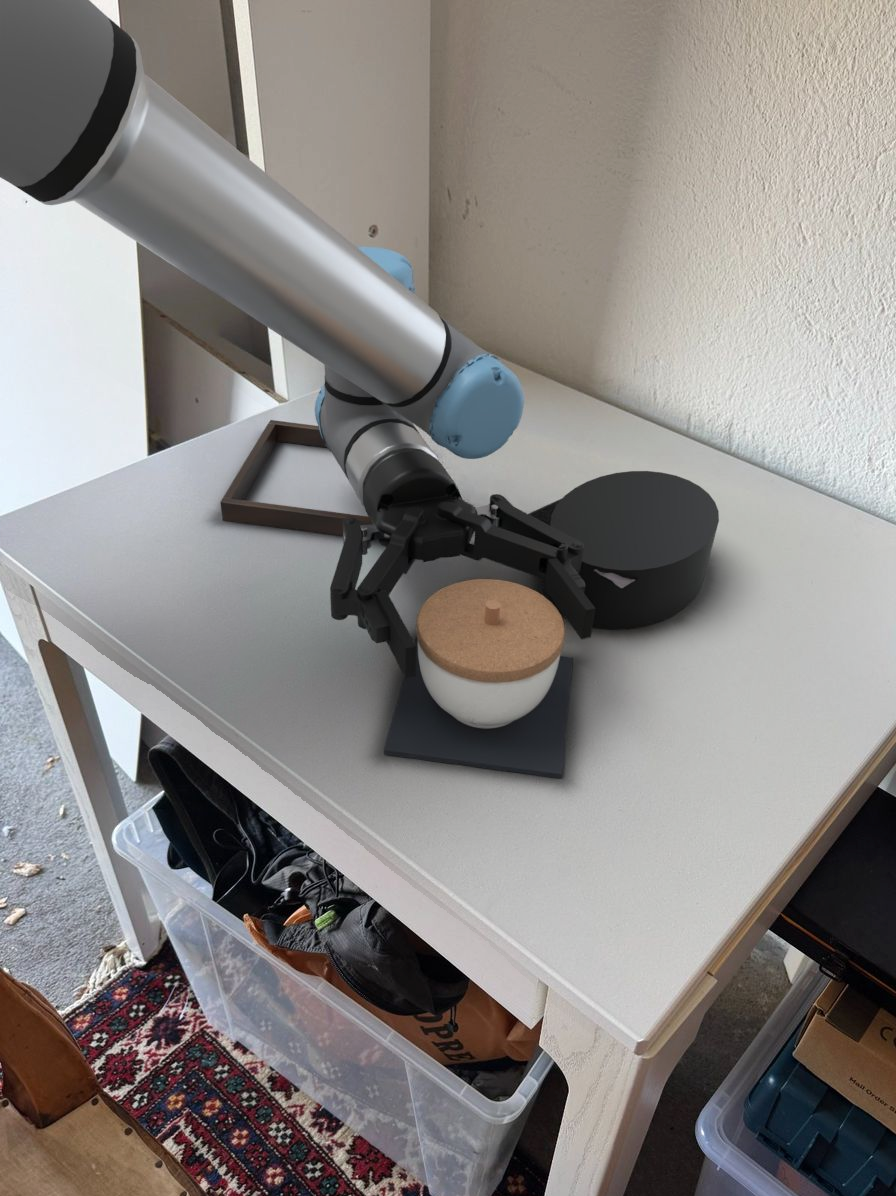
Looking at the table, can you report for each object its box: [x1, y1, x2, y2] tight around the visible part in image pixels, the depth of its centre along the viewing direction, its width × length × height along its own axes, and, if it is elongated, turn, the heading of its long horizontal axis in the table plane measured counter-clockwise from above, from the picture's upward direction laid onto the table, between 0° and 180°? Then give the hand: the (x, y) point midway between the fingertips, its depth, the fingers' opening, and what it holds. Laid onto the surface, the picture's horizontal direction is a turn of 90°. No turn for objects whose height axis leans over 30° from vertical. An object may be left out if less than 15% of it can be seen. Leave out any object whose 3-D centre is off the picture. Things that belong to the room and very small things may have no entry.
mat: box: [383, 636, 574, 779], centre depth 78 cm, size 13×13×1 cm
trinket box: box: [415, 578, 566, 729], centre depth 74 cm, size 11×11×9 cm
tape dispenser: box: [528, 470, 720, 631], centre depth 90 cm, size 14×18×8 cm
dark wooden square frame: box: [219, 419, 373, 537], centre depth 99 cm, size 16×16×2 cm
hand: (502, 643), depth 71 cm, fingers open, 13 cm apart
